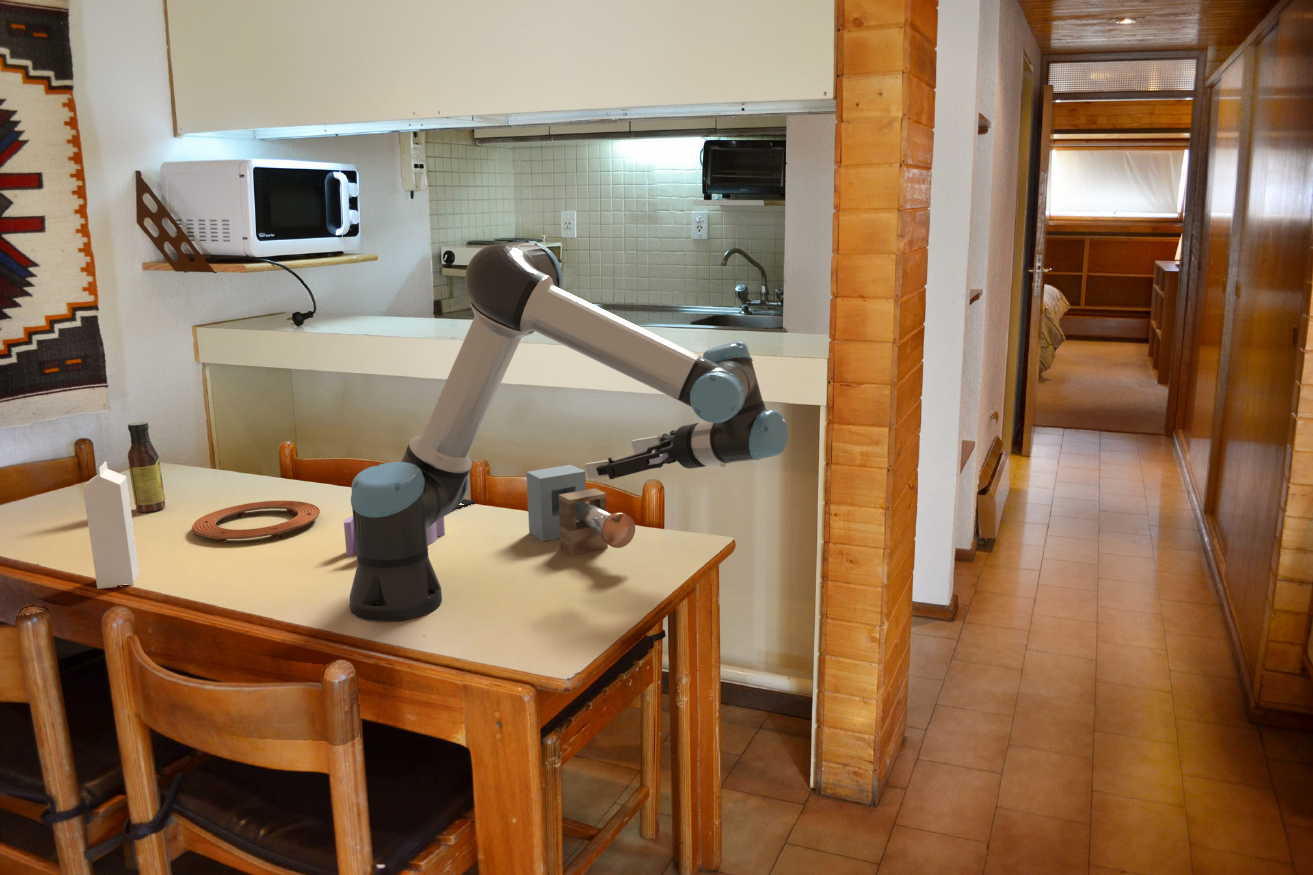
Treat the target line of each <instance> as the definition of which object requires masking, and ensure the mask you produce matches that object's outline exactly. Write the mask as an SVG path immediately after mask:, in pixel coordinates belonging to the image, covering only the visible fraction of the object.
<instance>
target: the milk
mask: <svg viewBox="0 0 1313 875" xmlns="http://www.w3.org/2000/svg"><path fill="white" fill-rule="evenodd" d="M82 491H83V492H82V493H83V499H84V506H85V513H86V521H87V526H88V531H89V532H88V533H89V539H90V540H89V542H90V546H91V553H92V560H93V566H94V574H95V581H96V588H97V590H99V589H107V588H108V589H109V588H117V585H122V584H134V585H135V583H136V581H137V579H138V578H137V577H139V576H140V568H139V567H140V566H139V559H138V552H137V545H136V538H135V530H134V523H133V516H132V515H133V514H132V510H131V499H130V493H129V486H128V478H127V476H126V475H125V474H121V473H119V472H117V471H114V470H111V469H109V468H108V463H107V461H106V460H105V461H104V462H103V463H102V464H101V465H100V467H98V474H97V475H95V476H94V477H92V478H90V479H89V480H88V482H87V483H85V485H84V486H83V487H82ZM138 575H139V576H138ZM136 578H137V579H136ZM135 580H136V581H135ZM134 582H135V583H134Z"/></svg>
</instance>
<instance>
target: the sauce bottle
mask: <svg viewBox="0 0 1313 875" xmlns="http://www.w3.org/2000/svg"><path fill="white" fill-rule="evenodd" d="M127 429H128V431H129V436H130V448H129V450H128V452H127V460H128V465H129V466H128V469H129V476H130V482H131V488H132V494H133V500H134V501H133V502H134V506H135V509H136V511H137V512H139V513H151V512H157V511H161V510H162V509H164V508H165V507H166V495H165V490H164V483H163V476H162V469H161V463H160V458H159V454H158V453H157V451H156V449H155V447H154V445H153V444H152V442H151V439H150V434H149V433H150V432H149V423H148V422H147V421H135V422H131V423H128V424H127Z"/></svg>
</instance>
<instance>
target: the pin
mask: <svg viewBox="0 0 1313 875" xmlns="http://www.w3.org/2000/svg"><path fill="white" fill-rule="evenodd" d="M575 508H576V520H578V521H580V522H581V523H583V524H585V525H587V526H589V527H591V528H592V529H594V530H596V531H598V532H600V533H602V538H603V540H604V541H605V543H607V544H608V546H610V547H612V548H615V549H620V548H624V547H626V546H628V545H629V543H631V541H632V540H633V538H634V536H635V534H636V533H635V532H636V523H635V521H634V519H633V518H632V517H631V516H630V515H628V514H626V513H623V512H619V511H618V512H614V513H610V512H608V511H607V512H606V511H604V510H602V509H600V508H598V507H596V506H594V505H592V504H590V502H589V501H584V502H579V503H575Z"/></svg>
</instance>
